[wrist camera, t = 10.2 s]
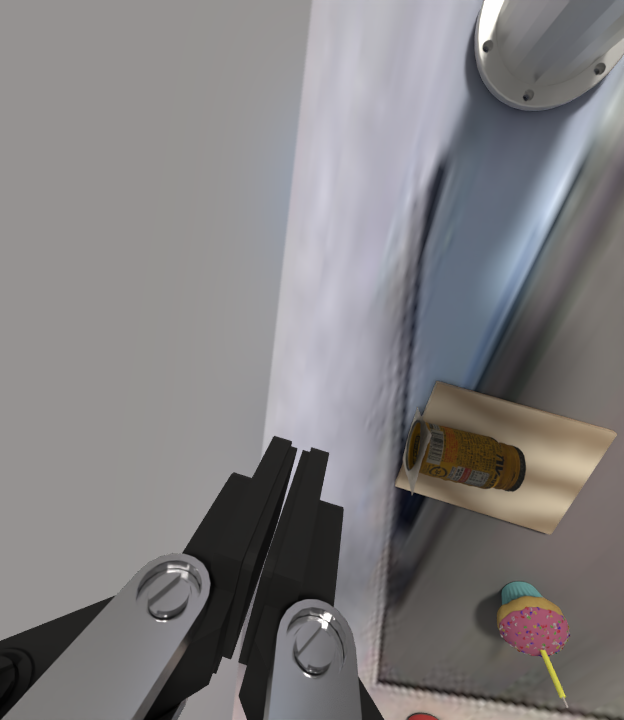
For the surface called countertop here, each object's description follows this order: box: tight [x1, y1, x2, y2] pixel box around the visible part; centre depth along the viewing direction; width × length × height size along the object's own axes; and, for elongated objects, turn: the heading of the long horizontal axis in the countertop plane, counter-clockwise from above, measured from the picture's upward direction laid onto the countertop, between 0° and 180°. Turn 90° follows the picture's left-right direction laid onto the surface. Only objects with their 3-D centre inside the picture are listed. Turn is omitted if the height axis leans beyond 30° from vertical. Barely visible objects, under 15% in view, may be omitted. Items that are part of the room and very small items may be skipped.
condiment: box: [403, 407, 526, 495], centre depth 38 cm, size 7×8×12 cm
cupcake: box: [497, 582, 570, 708], centre depth 43 cm, size 9×8×12 cm
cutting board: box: [395, 381, 617, 535], centre depth 42 cm, size 16×21×1 cm
